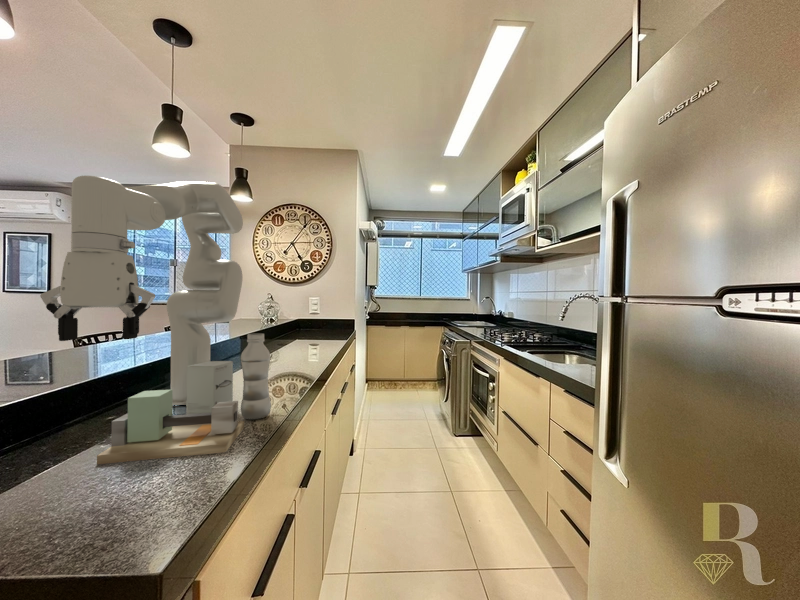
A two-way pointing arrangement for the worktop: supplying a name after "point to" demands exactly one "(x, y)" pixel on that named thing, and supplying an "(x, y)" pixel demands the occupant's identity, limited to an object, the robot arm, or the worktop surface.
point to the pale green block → (148, 415)
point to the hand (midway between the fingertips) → (99, 339)
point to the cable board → (178, 436)
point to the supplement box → (208, 385)
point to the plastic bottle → (255, 378)
